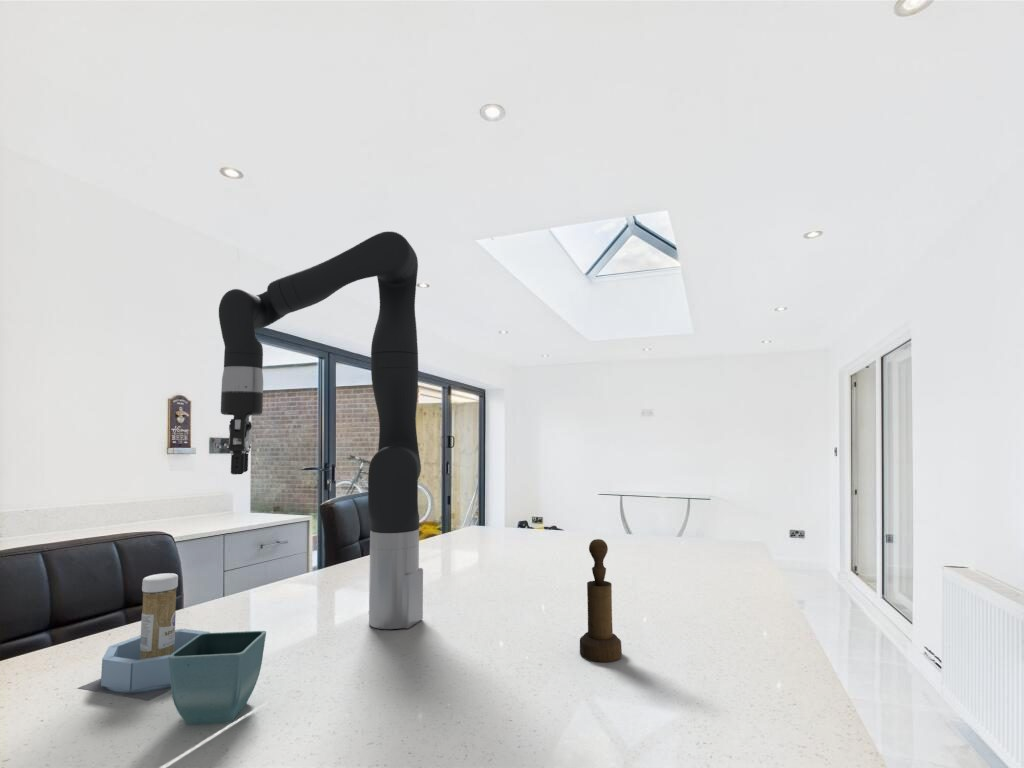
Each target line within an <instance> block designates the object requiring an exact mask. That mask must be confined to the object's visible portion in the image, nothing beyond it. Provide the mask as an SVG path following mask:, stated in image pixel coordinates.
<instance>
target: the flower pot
mask: <svg viewBox="0 0 1024 768" xmlns="http://www.w3.org/2000/svg"><path fill="white" fill-rule="evenodd" d="M266 636H267V631H266V630H251V631H250V630H249V631H248V630H247V631H225V632H210V633H202V634H199V635H197V636H196V637H194V638H193V639H192V640H190V641H189V642H188V643H186V644H185V645H183V646H182V647H181V648H179V649H178V650H176V651H175V652H173V653H172V654H171V655H170V656H169V657H168V660H169V671H170V682H171V690H170V691H171V697H172V702H173V704H174V707H175V709H176V711H177V713H178V714H179V716H180V717H181V718H182V719H183V720H184V721H183V722H185V723H186V724H187V725H189V726H190V725H205V724H206V725H207V724H227V723H231V722H232V721H234V720H235V718H236V717H237V715H238V714H239V713H240V712H241V711H242V710H243V709H244V707H246V705H247V703H248V701H249V699H250V698H251V696H252V694H253V692H254V690H255V688H256V685H257V682H258V679H259V676H260V673H261V669H262V664H263V657H264V651H265V644H266V643H265V642H266Z"/></svg>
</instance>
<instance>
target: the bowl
mask: <svg viewBox="0 0 1024 768" xmlns="http://www.w3.org/2000/svg"><path fill="white" fill-rule="evenodd" d="M202 633H211V632H210V631H206V630H205V631H204V630H196V629H187V628H179V629H175V642H174V652H175V651H176V650H178V649H179V648H181V647H182V646H183V645H185V644H186V643H188V642H189V641H190V640H192V639H193V638H194V637H196V636H197V635H199V634H202ZM140 641H141V634H140V635H138V636H135V637H131V638H129V639H126V640H123V641H120V642H117V643H115V644H112V645H109V646H108V647H107V650H106V651H105V653H104V655H103V657H102V659H101V676H100V677H101V678H100V679H101V686H104V687H105V688H106V689H107V690H109V691H112V692H116V693H142V692H150V691H155V690H161V689H165V688H169V687H171V682H170V671H169V660H168V657H169V656H170V655H166V656H160V657H153V658H147V659H140V658H141V649H140Z"/></svg>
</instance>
